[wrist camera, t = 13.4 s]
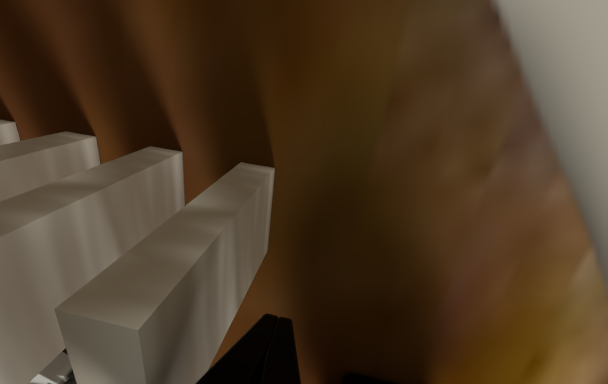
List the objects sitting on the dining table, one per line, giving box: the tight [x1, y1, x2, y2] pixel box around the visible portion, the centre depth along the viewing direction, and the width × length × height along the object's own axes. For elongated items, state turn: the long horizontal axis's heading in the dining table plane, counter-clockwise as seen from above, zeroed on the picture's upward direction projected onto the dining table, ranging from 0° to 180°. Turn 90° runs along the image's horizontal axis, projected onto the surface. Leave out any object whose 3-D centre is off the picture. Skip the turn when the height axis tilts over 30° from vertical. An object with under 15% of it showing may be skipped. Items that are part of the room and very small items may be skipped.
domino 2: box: [0, 146, 185, 384], centre depth 12 cm, size 2×5×10 cm, turn 173°
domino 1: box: [54, 162, 275, 384], centre depth 11 cm, size 2×5×10 cm, turn 173°
